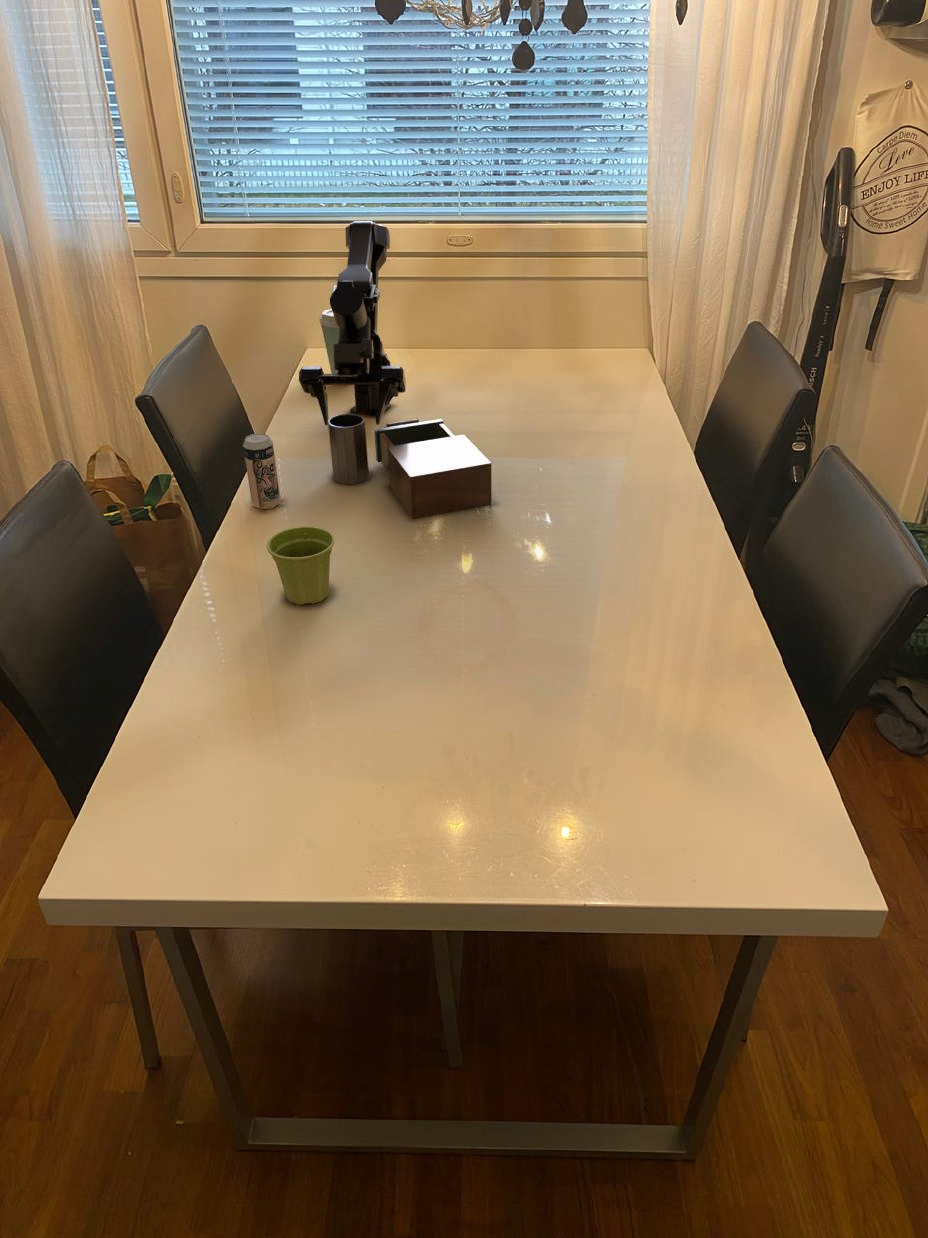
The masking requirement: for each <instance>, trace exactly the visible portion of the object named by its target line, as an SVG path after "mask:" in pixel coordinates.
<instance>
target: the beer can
mask: <svg viewBox="0 0 928 1238" xmlns="http://www.w3.org/2000/svg"><path fill="white" fill-rule="evenodd" d="M242 449H243V455H244V461H245V467H246V468H245V469H246V474H247V480H248V486H249V493H250V500H251V504H252V506H253V507H255V508H257V509H260V510H271V509H273V508H275V507H276V506H279V504H280V503H281V493H280V487H279V486H280V485H279V479H278V471H277V463H276V456H275V451H274V449H275V448H274V441H273V440H272V439H271V437H270V436H269V435H268V434H267V433H259V432H258V433H252V434H251V433H250V434H249V435H247V436H246V437H245V438H244V441H243V443H242Z"/></svg>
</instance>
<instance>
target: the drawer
mask: <svg viewBox="0 0 928 1238" xmlns="http://www.w3.org/2000/svg"><path fill="white" fill-rule="evenodd" d="M373 432H374V434H373V435H374V447H375V459H376V462H377V463H381V465H382V466H383V467H384V469H385V470H386V472H387V473H388V474H389V470H388V455H387V447H390V446H397V445H403V444H409V443H415V442H421V441H428V440H434V439H440V438H446V437H452V436H455V434H454V433H453V432H452V431H451V430H450V429H449V428H448V427H447V426H446V424H444V420H443V419H442V418H438V419H431V420H426V421H419V419H418V418H413V419H408V420H407V419H406V420H399V421H394V422H389V423H388V422H387V423H386V424H385V427H380V428H374V430H373Z"/></svg>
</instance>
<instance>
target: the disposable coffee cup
mask: <svg viewBox="0 0 928 1238" xmlns="http://www.w3.org/2000/svg"><path fill="white" fill-rule="evenodd" d="M318 321H319V324H320V326H321V330H322V331H321V332H322V336H323V340H324V344H325V349H326V354H327V359H328V364H329V368H330V374H337V370H335V367H334V352H333V345H334V344H338V337H339V327H338V326H337V323H336V321H335V318H334V315H333V312H332V309H331V308H330V309H326V310H323V311H321V314H320V315H319V320H318Z"/></svg>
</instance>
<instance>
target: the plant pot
mask: <svg viewBox="0 0 928 1238" xmlns="http://www.w3.org/2000/svg"><path fill="white" fill-rule="evenodd" d="M334 545H335V535H334V534H333V533H332V532H330V531H329V530H327V529H326V528H322V527H318V526H311V525H310V526H295V527H290V528H287V529H283V530H281V531H279V532H277V533H275V534H273V535H272V536H271V537H269V539H268V540H267V542H266V550H267V552H268V553H269V555H270V556H271V558H272V560H273V561H274V562H275V565H276V568H277V571H278V574H279V577H280V580H281V584H282V587H283V590H284V595H285V597H286V599H287V600H288V601H289V602H290V603H292V604H296V605H305V604H312V605H313V604H317V603H319V602H321V601H323V600H324V599H326V598H327V597H328V595H329V592H330V569H331V568H330V565H331V563H330V562H331V554H332V551H333V547H334Z"/></svg>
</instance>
